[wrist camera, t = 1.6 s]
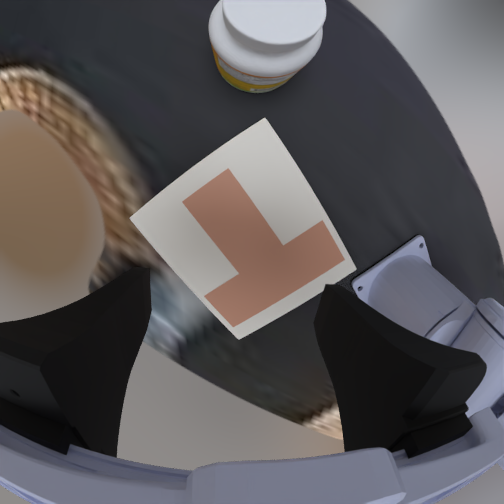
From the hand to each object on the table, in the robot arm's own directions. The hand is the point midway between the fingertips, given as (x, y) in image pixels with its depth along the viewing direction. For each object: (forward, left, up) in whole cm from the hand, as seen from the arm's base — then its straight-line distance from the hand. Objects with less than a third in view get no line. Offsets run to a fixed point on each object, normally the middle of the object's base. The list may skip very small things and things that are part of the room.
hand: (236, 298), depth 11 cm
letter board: (-2, 0, -10) cm, 11 cm away
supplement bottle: (+9, -8, -11) cm, 16 cm away
